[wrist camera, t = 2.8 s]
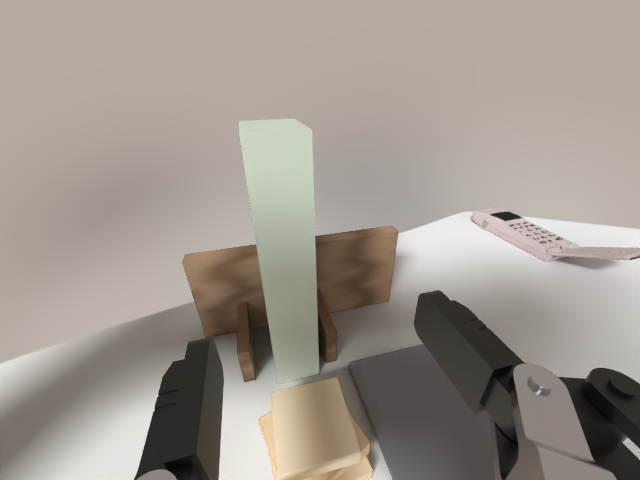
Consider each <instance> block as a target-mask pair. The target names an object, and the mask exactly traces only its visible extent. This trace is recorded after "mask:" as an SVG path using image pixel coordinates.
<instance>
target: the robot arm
mask: <svg viewBox="0 0 640 480" xmlns="http://www.w3.org/2000/svg"><path fill="white" fill-rule="evenodd" d="M414 326H415V330H416V333H417V335H418V336H419V338H420V339H421V341H422V342H423V343H424V345H425V346H426V348H427V349H428V350H429V352H430V353H431V355H432V356H433V357H434V359H435V360H436V361H437V363H438V364H439V366H440V367H441V368H442V370H443V371H444V373H445V374H446V375H447V377H448V378H449V380H450V381H451V382H452V384H453V385H454V387H455V388H456V389H457V391H458V392H459V394H460V395H461V396H462V398H463V399H464V401H465V402H466V403H467V405H468V406H469V407H470V409H471V410H472V412H473V413H474V414H477V413H480V412H484V411H487V412H488V414H489V415H490V416H491V418H490V432H491V442H492V452H493V462H494V472H495V480H640V460H639V459H638V458H637V457H636V456H635V455H634V454H633V453H632V452H631V451H630V450H629V449H628V448H627V447H626V446H625V445H624V444H623V443H622V442H623V441H624V440H625V439H626V438H627V437H628V438H629V439H630V440H631V441H632V442H633V443H634V444H635V445H637V446H638V447H639V448H640V384H639V383H637V382H636V381H635V380H633V379H631V378H630V377H628V376H626V375H624V374H622V373H620V372H617V371H614V370H611V369H606V368H596V369H593V370H592V371H591V372H590V374H589V375H588V376H587V378H586V379H580V378H564V377H557V376H556V375H554V374H553V373H552V372H550V371H548V370H547V369H545V368H543V367H540V366H537V365H534V364H527V363H524V362H523V361H522V360H521V359H520V358H519V357H518V356H517V355H516V354H515V353H514V352H513V351H511V350H510V349H509V348H508V347H507V346H506V345H505V344H504V343H503V342H502V341H501V340H500V339H499V338H498V337H497V336H496V335H495V334H494V333H493V332H492V331H491V330H490V329H487V326H486V325H485V324H484V323H483V322H482V321H481V320H478V318H477V317H476V316H475V315H474V314H473V313H472V312H471V311H470V310H469V309H468V308H467V307H465V306H463V305H461V304H460V303H458V302H456V301H450V300H449V299H448V298H447V296H446V295H445V294H444V293H442V292H441V291H439V290H437V291H432V292H427V293H423V294H420V295H419V297H418V303H417V308H416V314H415V319H414ZM223 384H224V379H223V369H222V364H221V361H220V358H219V355H218V352H217V348H216V345H215V342H214V339H213V338H212V337H210V338H205V339H200V340H196V341H191V342H189V343H188V345H187V350H186V355H185V359H183V360H179V361H174V362H173V363H172V364H171V366H170V367H169V369H168V370H167V372H166V373H165V375H164V376H163V378H162V382H161V385H160V389H159V393H158V395H159V396H158V397H157V401H156V404H155V411H154V412H153V416H152V420H151V423H150V427H149V431H148V435H147V438H146V442H145V446H144V450H143V454H142V457H141V461H140V465H139V468H138V471H137V474H136V476H135V478H134V480H218V477H219V458H220V440H221V421H222V403H223Z"/></svg>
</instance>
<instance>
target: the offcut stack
mask: <svg viewBox="0 0 640 480" xmlns="http://www.w3.org/2000/svg"><path fill="white" fill-rule="evenodd" d="M270 396H271V407H272V411H271V412H270V413H268V414H266V415H264V416H261V418H259V419H258V421H259V425H260V430H261V432H262V435H263V437H264V440H265V442H266V445H267V447H268V452H269V457H270V462H271V467H272V472H273V477H274V480H370V479H372V473H373V469H372V467H371V465H370V463H369V461H368V459H367V455H368V454H369V450H370V442H369V440H368V439H367V437H366V436H365V435H364V433H363V432H362V430H361V429H360V427H359V426H358V424H357V423H356V421H355V420H354V418H353V417H352V416H351V414H350V413H349V411H348V409H347V406H346V403H345V400H344V397H343V394H342V391H341V388H340V384H339V381H338V378H337V377H334V378H330V379H325V380H321V381H317V382H313V383H308V384H304V385H300V386H296V387H292V388H287V389H283V390H279V391H275V392H271V393H270Z"/></svg>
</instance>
